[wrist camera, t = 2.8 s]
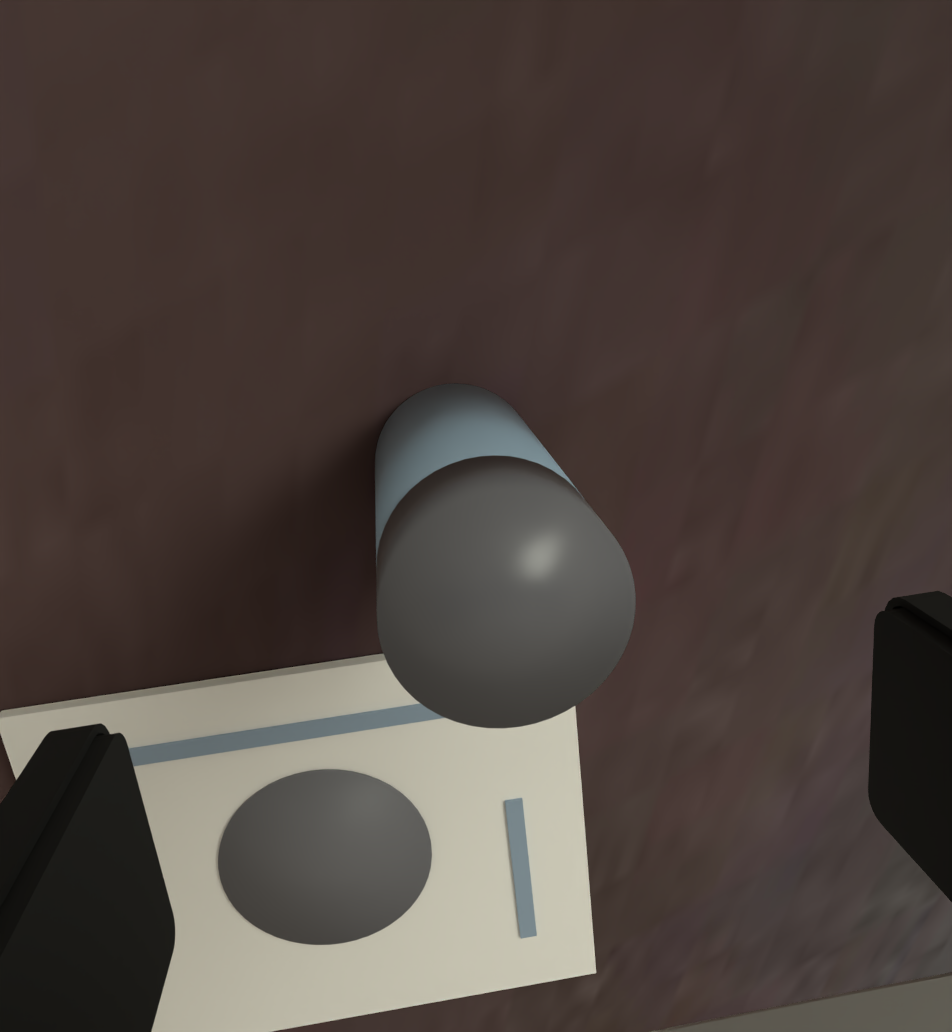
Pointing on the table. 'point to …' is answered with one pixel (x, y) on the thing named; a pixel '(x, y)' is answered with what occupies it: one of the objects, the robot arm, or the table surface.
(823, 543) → the table surface
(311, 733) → the cream rectangular board
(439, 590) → the gray blue rounded cylinder
